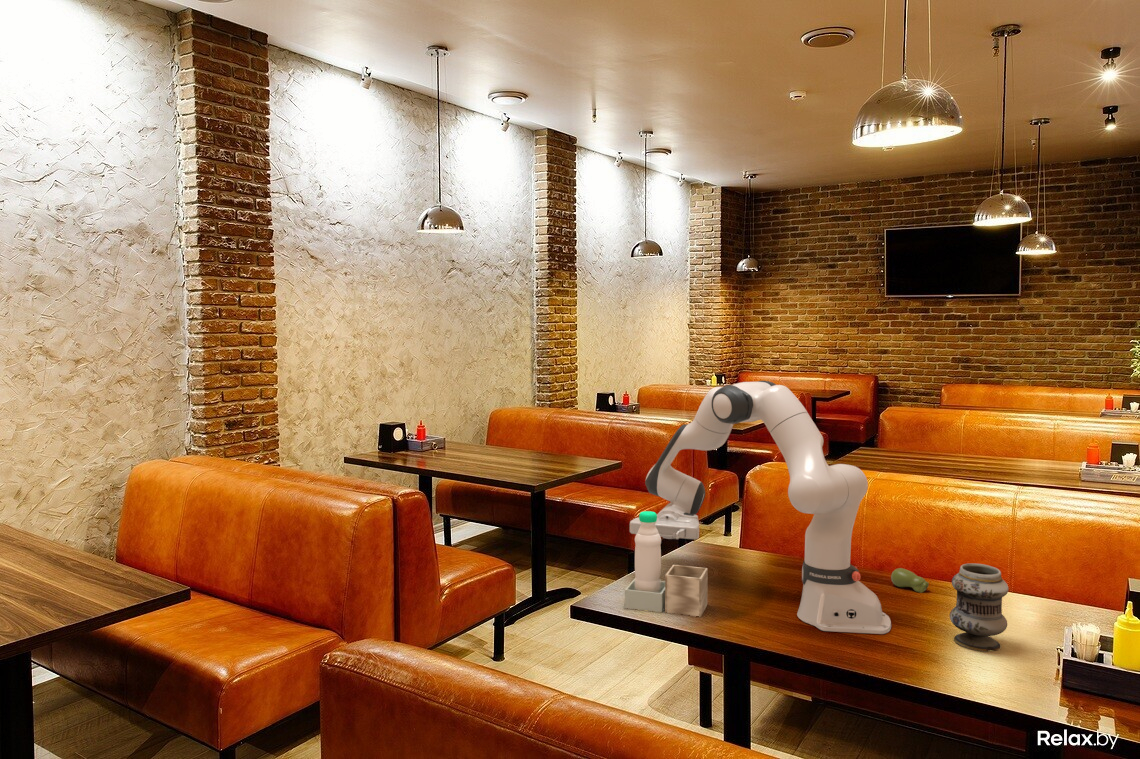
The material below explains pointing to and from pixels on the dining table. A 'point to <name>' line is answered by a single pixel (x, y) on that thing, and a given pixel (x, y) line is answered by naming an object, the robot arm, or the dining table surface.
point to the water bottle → (648, 554)
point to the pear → (908, 580)
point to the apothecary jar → (979, 606)
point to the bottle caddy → (644, 598)
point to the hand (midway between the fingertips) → (658, 534)
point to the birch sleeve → (686, 590)
